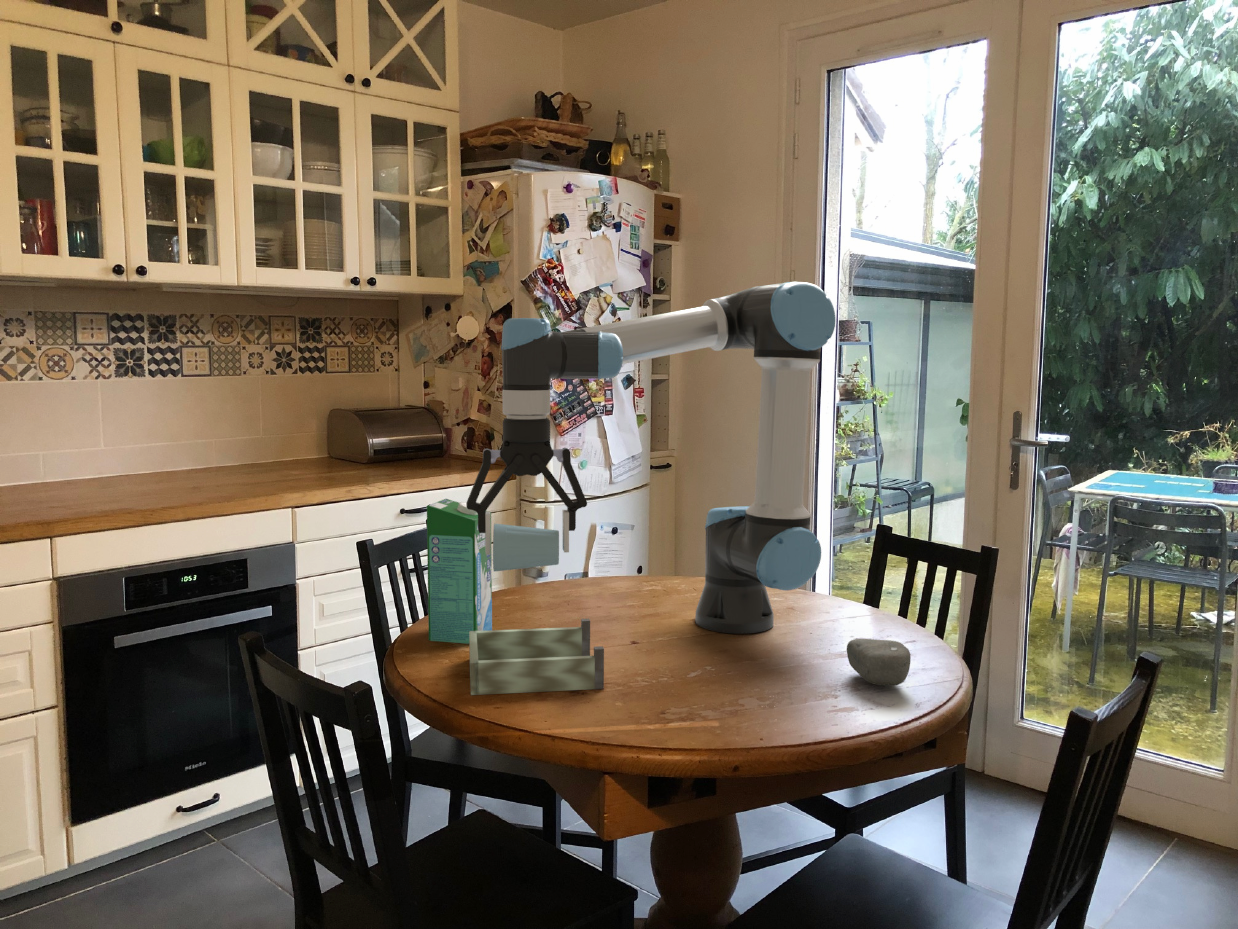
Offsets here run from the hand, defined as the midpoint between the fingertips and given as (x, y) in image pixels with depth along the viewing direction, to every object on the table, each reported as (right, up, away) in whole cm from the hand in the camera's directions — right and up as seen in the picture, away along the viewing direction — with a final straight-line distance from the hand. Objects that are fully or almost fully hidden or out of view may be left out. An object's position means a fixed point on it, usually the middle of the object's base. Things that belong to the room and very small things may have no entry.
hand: (527, 552), depth 156 cm
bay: (+1, -20, +2) cm, 20 cm away
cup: (+4, -4, +2) cm, 5 cm away
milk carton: (-14, -18, +23) cm, 32 cm away
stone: (+57, -22, +3) cm, 61 cm away
